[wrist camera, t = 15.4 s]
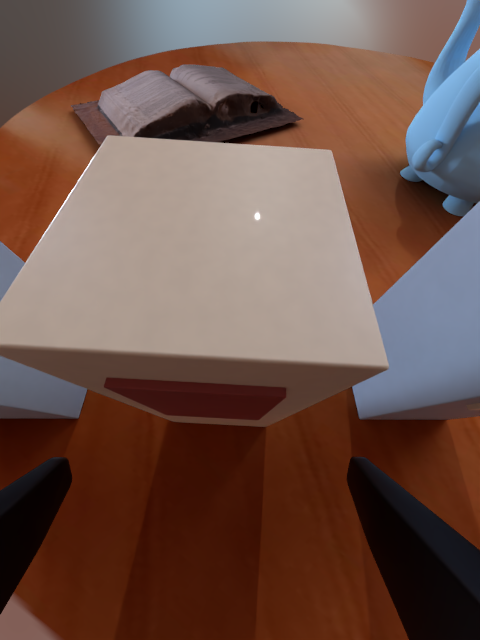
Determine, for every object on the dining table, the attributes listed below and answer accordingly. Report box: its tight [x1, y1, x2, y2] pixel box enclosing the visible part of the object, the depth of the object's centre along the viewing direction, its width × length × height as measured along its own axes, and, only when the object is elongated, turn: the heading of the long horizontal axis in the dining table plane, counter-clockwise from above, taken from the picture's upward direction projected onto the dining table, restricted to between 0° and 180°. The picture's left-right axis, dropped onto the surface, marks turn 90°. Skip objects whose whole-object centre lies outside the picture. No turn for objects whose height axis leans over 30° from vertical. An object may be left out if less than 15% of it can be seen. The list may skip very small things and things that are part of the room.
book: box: [71, 65, 303, 146], centre depth 33 cm, size 20×28×4 cm
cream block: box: [0, 135, 389, 427], centre depth 10 cm, size 6×6×13 cm
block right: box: [352, 201, 480, 420], centre depth 11 cm, size 6×6×13 cm
